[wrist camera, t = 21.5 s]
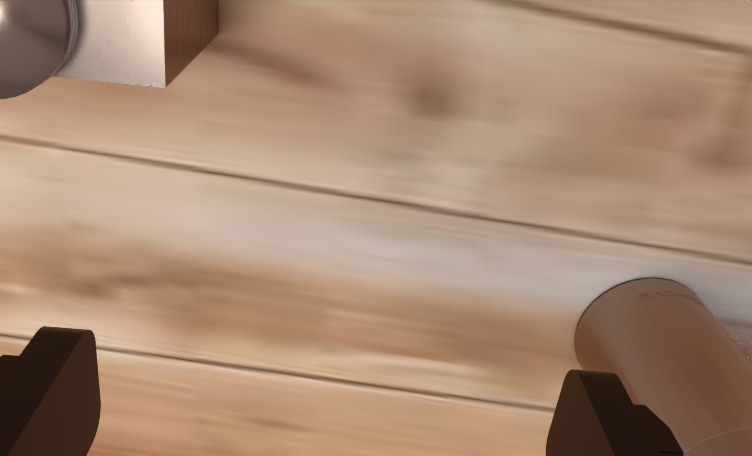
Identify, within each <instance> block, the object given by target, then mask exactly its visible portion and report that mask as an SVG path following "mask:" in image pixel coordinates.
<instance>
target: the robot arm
mask: <svg viewBox="0 0 752 456" xmlns="http://www.w3.org/2000/svg"><path fill="white" fill-rule="evenodd" d="M575 351H576V355H577V358H578V361H579V363H580V365H581V367H582V369H583V370H570V371H569V372H568V373H567V374H566V377H565V379H564V382H563V386H562V389H561V392H560V396H559V399H558V403H557V406H556V410H555V413H554V416H553V420H552V423H551V427H550V430H549V433H548V437H547V443H546V456H752V362H751V361H750V360H749V359H748V358H747V356H746V355H745V354H744V353H743V351H742V350H741V349H740V348H739V347H738V345H737V344H736V343H735V342H734V341H733V339H732V338H731V337H730V336H729V334H728V333H727V332H726V331H725V329H724V328H723V327H722V326H721V325H720V324H719V322H718V321H717V320H716V319H715V318H714V316H713V315H712V314H711V313H710V312H709V310H708V309H707V308H706V307H705V306H704V304H703V303H702V302H701V301H700V299H699V298H698V297H697V296H696V295H695V293H693V292H692V291H691V290H689V289H688V288H687V287H685V286H683V285H681V284H679V283H676V282H674V281H670V280H664V279H641V280H635V281H630V282H628V283H625V284H622V285H619V286H617V287H615V288H613V289H611V290H610V291H608V292H606V293H604V294H603V295H602V296H601V297H599V298H598V299H597V300H596V301H595V302H593V303H592V304H591V306H590V307H589V308H588V309H587V310H586V312H585V313H584V314H583V316H582V318H581V320H580V322H579V324H578V327H577V330H576V334H575ZM100 409H101V401H100V389H99V377H98V365H97V354H96V342H95V337H94V334H93V332H92V331H91V330H84V329H72V328H59V327H46V326H44V327H41V328H40V329H39V330H38V331H37V332H36V334H35V335H34V337H33V338H32V339H31V341H30V342H29V343H28V345H27V346H26V347H25V349H24V350H23V352H22V353H21V354H20V356H13V355H2V356H1V357H0V456H86V455H87V453H88V451H89V449H90V447H91V445H92V443H93V440H94V438H95V435H96V432H97V428H98V424H99V418H100Z"/></svg>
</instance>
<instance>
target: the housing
mask: <svg viewBox="0 0 752 456" xmlns="http://www.w3.org/2000/svg"><path fill="white" fill-rule="evenodd" d="M217 35H218V0H0V99H7V98H11V97H16V96H19V95H21V94H24V93H26V92H28V91H30V90H32V89H33V88H35V87H37V86H38V85H40V84H42V83H43V82H45V81H46V80H48V79H50V78H51V77H53V76H54V77H63V78H73V79H83V80H92V81H102V82H112V83H121V84H131V85H141V86H150V87H160V88H166V87H167V86H168V85H169V84H170V83H171V82H172V81H173V80H174V79H175V78H176V77H177V76H178V75H179V74H180V73H181V72H182V71H183V69H184V68H185V67H186V66H187V65H188V64H189V63H190V62H191V61H192V60H193V59H194V58H195V57H196V56H197V55H198V54H199V53H200V52H201V51H202V50H203V49H204V48H205V47H206V46H207V45H208V44H209V43H210V42H211V41H212V40H213V39H214V38H215V37H216V36H217Z"/></svg>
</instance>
